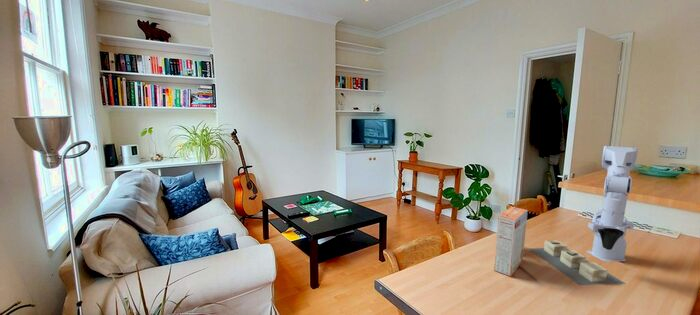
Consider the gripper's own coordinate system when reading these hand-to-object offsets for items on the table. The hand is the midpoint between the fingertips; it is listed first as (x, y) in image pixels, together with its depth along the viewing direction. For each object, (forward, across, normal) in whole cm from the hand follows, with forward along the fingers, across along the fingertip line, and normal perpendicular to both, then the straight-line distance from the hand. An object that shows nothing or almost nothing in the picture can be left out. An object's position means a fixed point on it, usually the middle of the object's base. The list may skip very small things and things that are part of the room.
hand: (607, 248), depth 101 cm
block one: (+9, -7, +14) cm, 18 cm away
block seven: (+9, -7, +6) cm, 13 cm away
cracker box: (+10, -31, +6) cm, 33 cm away
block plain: (+9, -7, -3) cm, 12 cm away
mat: (+9, -7, +6) cm, 13 cm away
